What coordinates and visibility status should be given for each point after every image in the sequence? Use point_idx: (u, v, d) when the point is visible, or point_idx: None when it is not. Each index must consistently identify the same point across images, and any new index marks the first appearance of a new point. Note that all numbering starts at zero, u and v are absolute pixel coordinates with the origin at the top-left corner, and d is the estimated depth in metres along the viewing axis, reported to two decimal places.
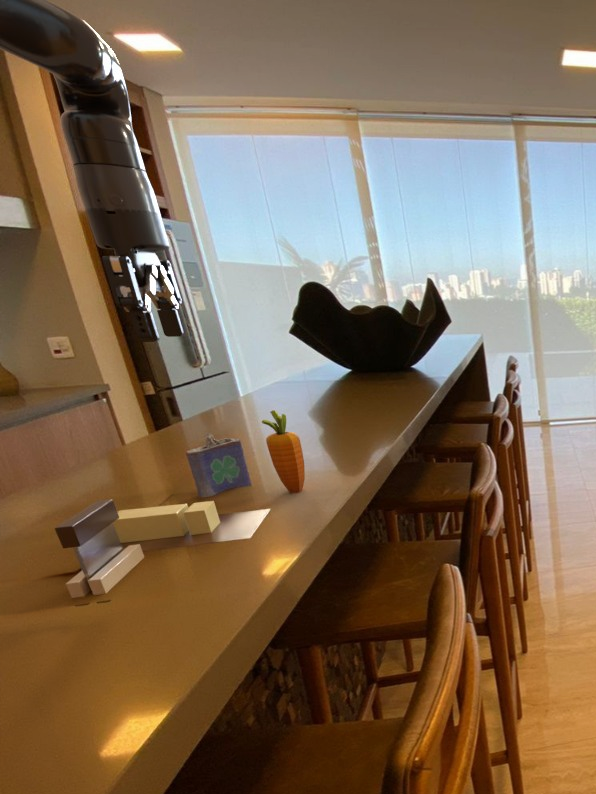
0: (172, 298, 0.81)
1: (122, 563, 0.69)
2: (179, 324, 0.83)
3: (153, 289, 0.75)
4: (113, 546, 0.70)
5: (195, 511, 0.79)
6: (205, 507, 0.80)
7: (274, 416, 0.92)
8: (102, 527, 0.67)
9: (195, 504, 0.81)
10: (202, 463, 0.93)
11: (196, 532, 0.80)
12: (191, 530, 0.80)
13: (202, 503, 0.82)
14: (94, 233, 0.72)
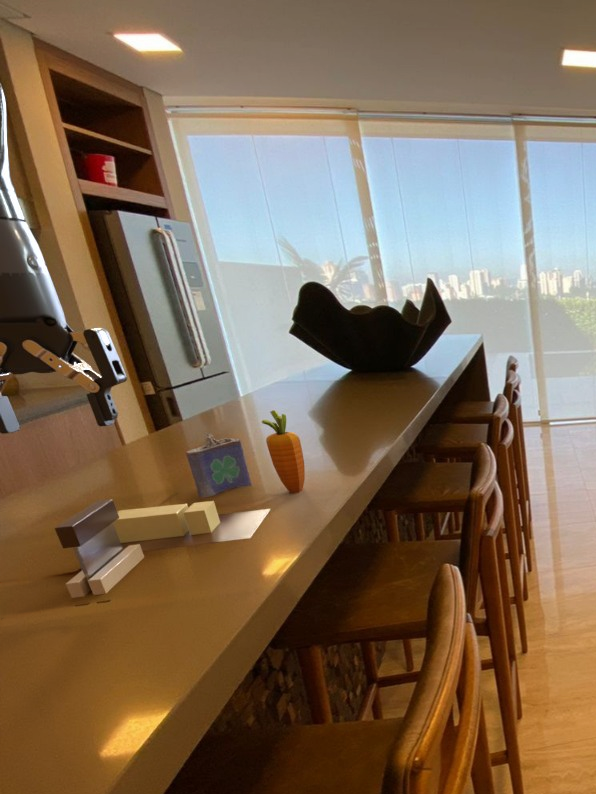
0: (80, 379, 0.61)
1: (122, 563, 0.69)
2: (95, 412, 0.62)
3: None
4: (113, 546, 0.70)
5: (195, 511, 0.79)
6: (205, 507, 0.80)
7: (274, 416, 0.92)
8: (102, 527, 0.67)
9: (195, 504, 0.81)
10: (201, 463, 0.93)
11: (196, 532, 0.80)
12: (191, 530, 0.80)
13: (202, 503, 0.82)
14: None
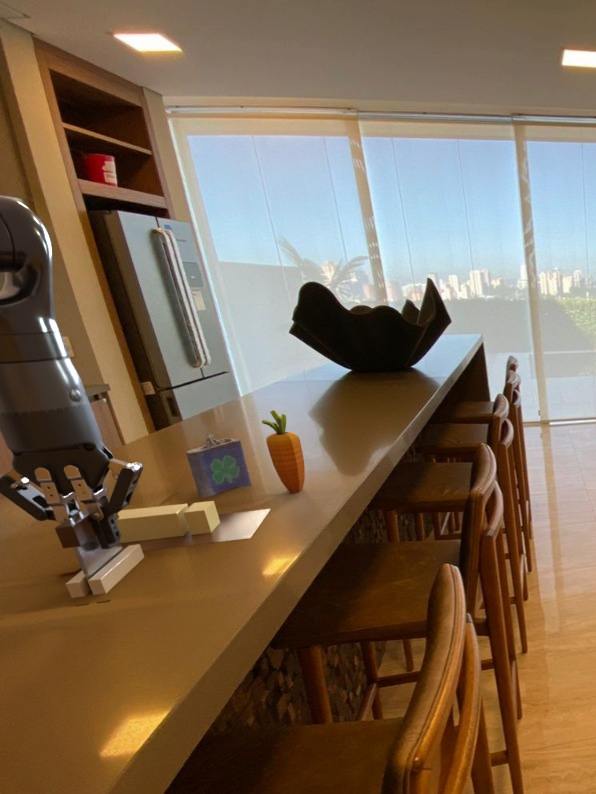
0: (91, 506, 0.65)
1: (122, 563, 0.69)
2: (99, 537, 0.66)
3: (54, 497, 0.63)
4: None
5: (195, 511, 0.79)
6: (205, 507, 0.80)
7: (274, 416, 0.92)
8: None
9: (195, 504, 0.81)
10: (201, 463, 0.93)
11: (196, 532, 0.80)
12: (191, 530, 0.80)
13: (202, 503, 0.82)
14: None
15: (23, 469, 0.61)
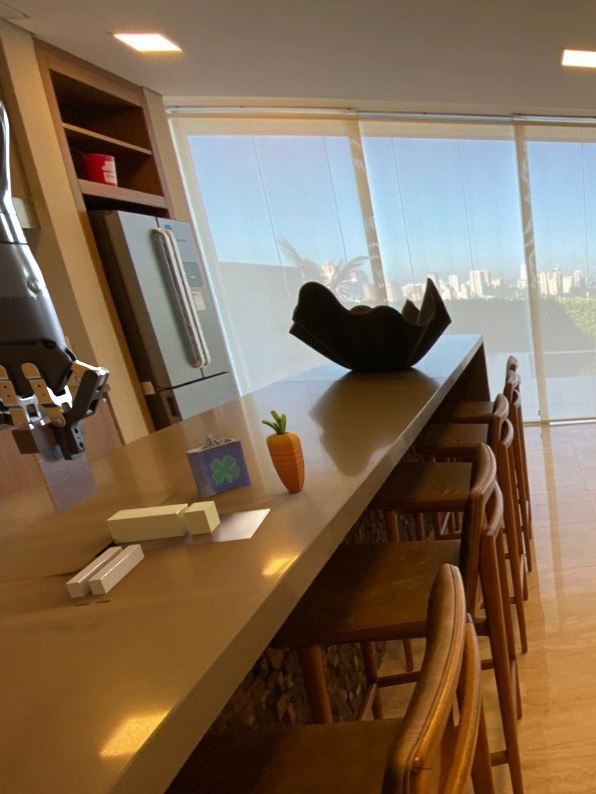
0: (51, 411, 0.60)
1: (122, 563, 0.69)
2: (61, 446, 0.62)
3: (11, 398, 0.59)
4: (78, 462, 0.65)
5: (195, 511, 0.79)
6: (205, 507, 0.80)
7: (274, 416, 0.92)
8: None
9: (195, 504, 0.81)
10: (201, 463, 0.93)
11: (196, 532, 0.80)
12: (191, 530, 0.80)
13: (202, 503, 0.82)
14: None
15: None
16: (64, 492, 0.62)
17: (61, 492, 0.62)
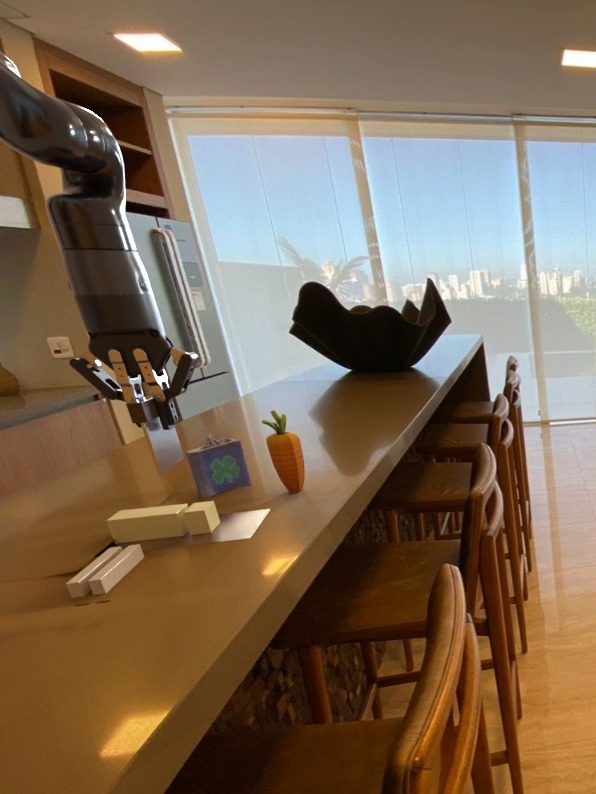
0: (154, 388, 0.73)
1: (122, 563, 0.69)
2: (161, 418, 0.75)
3: (124, 378, 0.71)
4: (170, 433, 0.78)
5: (195, 511, 0.79)
6: (205, 507, 0.80)
7: (274, 416, 0.92)
8: None
9: (195, 504, 0.81)
10: (201, 463, 0.93)
11: (196, 532, 0.80)
12: (191, 530, 0.80)
13: (202, 503, 0.82)
14: None
15: (98, 351, 0.70)
16: (163, 456, 0.75)
17: (161, 456, 0.75)
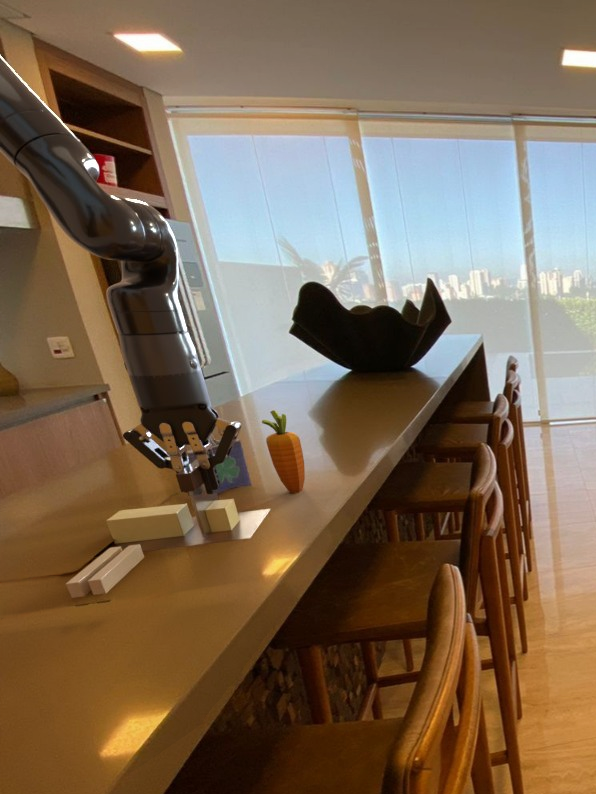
0: (200, 457, 0.78)
1: (122, 563, 0.69)
2: (205, 484, 0.79)
3: (173, 448, 0.76)
4: (212, 495, 0.83)
5: (216, 509, 0.80)
6: (225, 505, 0.81)
7: (274, 416, 0.92)
8: None
9: (215, 502, 0.82)
10: None
11: (217, 530, 0.81)
12: (212, 528, 0.80)
13: (223, 501, 0.82)
14: None
15: (149, 424, 0.74)
16: (207, 520, 0.80)
17: (205, 520, 0.79)
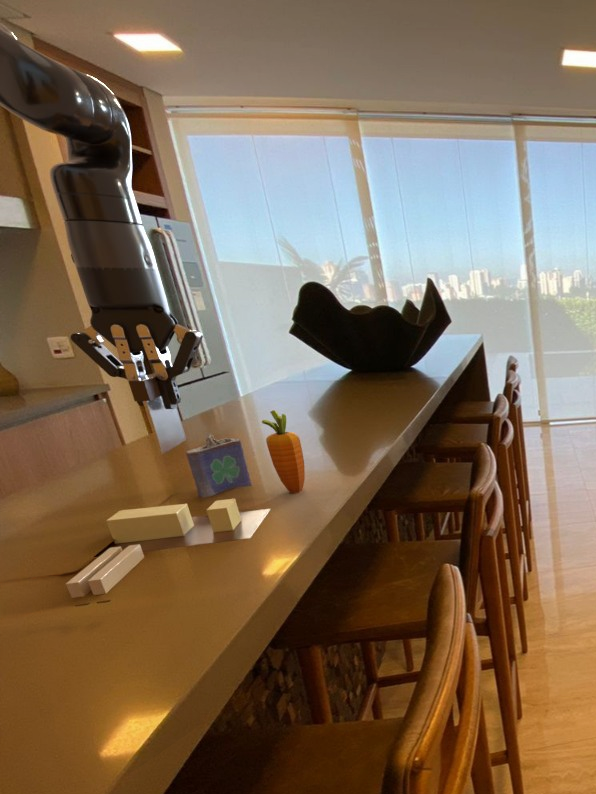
0: (157, 366, 0.72)
1: (122, 563, 0.69)
2: (163, 397, 0.73)
3: (126, 354, 0.70)
4: (172, 413, 0.77)
5: (218, 509, 0.80)
6: (227, 504, 0.81)
7: (274, 416, 0.92)
8: None
9: (217, 502, 0.82)
10: (201, 463, 0.93)
11: (218, 529, 0.81)
12: (213, 527, 0.80)
13: (224, 501, 0.82)
14: None
15: (100, 326, 0.69)
16: (164, 436, 0.74)
17: (163, 436, 0.73)
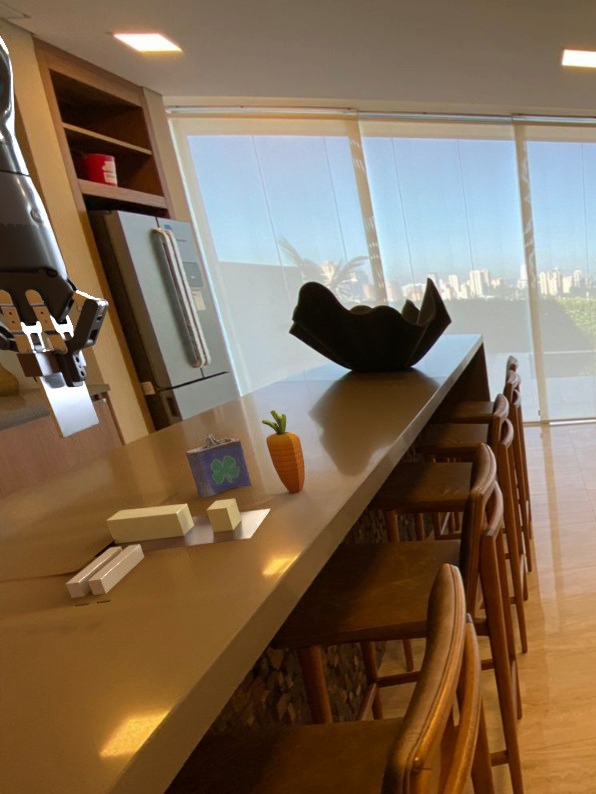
0: (54, 338, 0.64)
1: (122, 563, 0.69)
2: (63, 373, 0.65)
3: (16, 324, 0.62)
4: (79, 393, 0.69)
5: (218, 509, 0.80)
6: (227, 504, 0.81)
7: (274, 416, 0.92)
8: None
9: (217, 502, 0.82)
10: (201, 463, 0.93)
11: (218, 529, 0.81)
12: (213, 527, 0.80)
13: (224, 501, 0.82)
14: None
15: None
16: (67, 418, 0.66)
17: (64, 417, 0.65)
